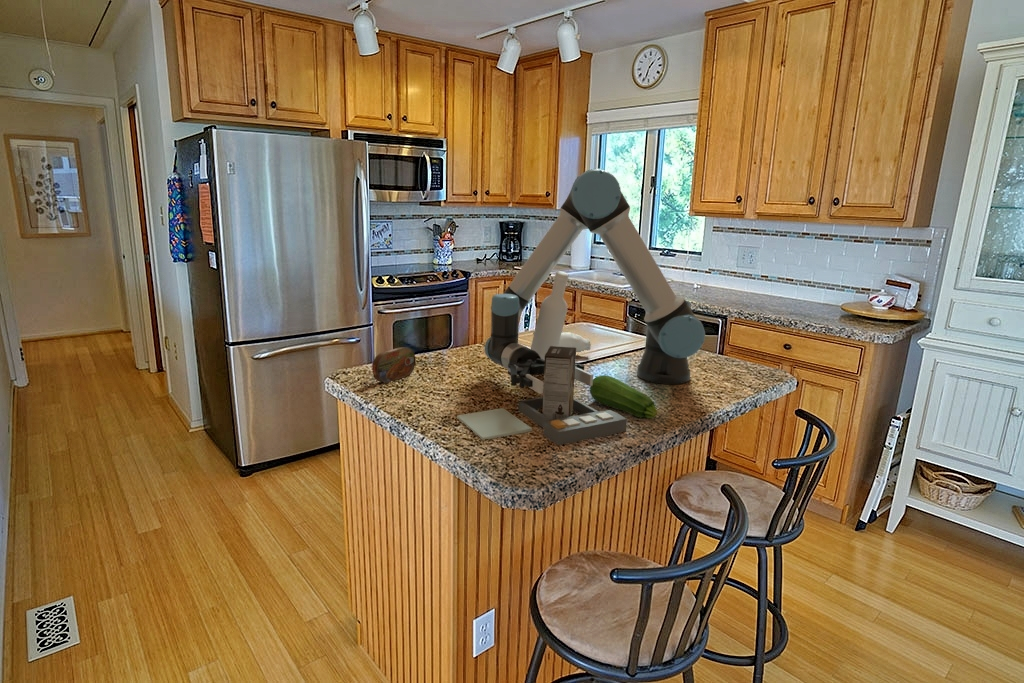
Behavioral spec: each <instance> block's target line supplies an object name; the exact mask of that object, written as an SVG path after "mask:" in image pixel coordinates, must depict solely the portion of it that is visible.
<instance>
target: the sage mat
mask: <svg viewBox="0 0 1024 683" xmlns="http://www.w3.org/2000/svg"><path fill="white" fill-rule="evenodd" d="M457 418H458V419H459V420H458V419H457ZM456 419H457V420H458V421H459V422H460V423H462V422H463V423H464V424H465V425H466V426H465V425H464V424H463V423H462V424H463V425H464V426H465V427H467V428H468V429H469V430H470V429H471V430H472V431H473V432H472V431H471V430H470V431H471V432H472V433H473V434H475V435H476V436H477V435H478V436H479V437H480V438H479V437H478V436H477V437H478V438H479V439H480V440H481V441H486V440H485V439H488V440H493V439H498V438H503V436H504V437H507V436H508V437H509V436H513V435H518V434H524V433H529V432H533V428H532V427H530V426H529V425H528V424H526V423H525V422H523V421H522V420H520V419H519V418H518V417H516V416H515V415H513V414H512V413H511V412H509V411H508V410H507V409H505V408H503V407H501V408H495V409H490V410H484V411H483V410H482V411H476V412H470V413H463V414H459V415H458V414H457V415H456ZM497 437H498V438H497ZM492 438H493V439H492Z"/></svg>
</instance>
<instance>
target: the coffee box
mask: <svg viewBox="0 0 1024 683" xmlns="http://www.w3.org/2000/svg"><path fill="white" fill-rule="evenodd" d="M576 356H577V355H576V348H573V347H557V346H550V348H549V349H548V351H547V353H546V354H545V363H544V375H543V394H542V397H543V408H542V414H543V415H545V416H546V417H548V418H549V419H551V420H554V419H559V418H564V417H570V416H573V412H574V410H573V398H575V396H574V395H575V379H574V378H575V364H576Z"/></svg>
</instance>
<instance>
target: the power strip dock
mask: <svg viewBox="0 0 1024 683" xmlns="http://www.w3.org/2000/svg"><path fill="white" fill-rule="evenodd" d="M538 409H543V396H540V397H534V398H528V399H522V400H517V412H519V413H520V414H522V415H524V416H525V417H526V418H527V419H529V420H531V421H532V422H533V423H535V424H537V425H538V426H540V427H542V428H543V430H542V435H543V436H544V437H545V438H546V439H548V440H549V441H550V442H552V443H553V444H555V445H557V446H558V445H559V446H563V444H564V445H567V444H568V443H569V444H573V443H577V441H578V442H582V440H583V441H588V440H591V439H597V438H602V437H605V436H611V435H614V434H615V433H616V434H619V433H625V432H627V426H628V418H627V417H625V416H622V415H621V414H619V413H617V412H615V411H614V410H611V409H607V410H602V411H599V410H597V409H595V408H593V407H591V406H589V405H587V404H586V403H584V402H583V401H580V400H579V399H577V398H575V397H573V411H574V412H575V411H576V412H577V413H578V414H577V415H571V416H570V417H564V418H559V419H554V420H551V419H549V418H548V417H546V416H545V415H543V413H541V412H540V411H538ZM624 431H625V432H624ZM587 439H588V440H587Z"/></svg>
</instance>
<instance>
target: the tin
mask: <svg viewBox="0 0 1024 683" xmlns="http://www.w3.org/2000/svg"><path fill="white" fill-rule="evenodd" d="M416 360H417V358H416V355H415V352H414V350H412V348H410V347H404V346H403V347H401V346H399V347H397V348H393V349H389V350H387V351H383V352H381V353H378V354H377V355H376V356H375V358H374V359H373V361H372V365H371V366H372V368H371V369H372V370H371V371H372V375H373V378H374V379H375V380H376V381H378V382H381V383H385V384H390V383H392V382H391V381H393V382H395V381H398V380H400V379H403V377H404V378H406V377H409V376H410V375H411V374H412V373H413V371H414V369H415V366H416ZM394 380H395V381H394ZM389 382H390V383H389Z"/></svg>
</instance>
